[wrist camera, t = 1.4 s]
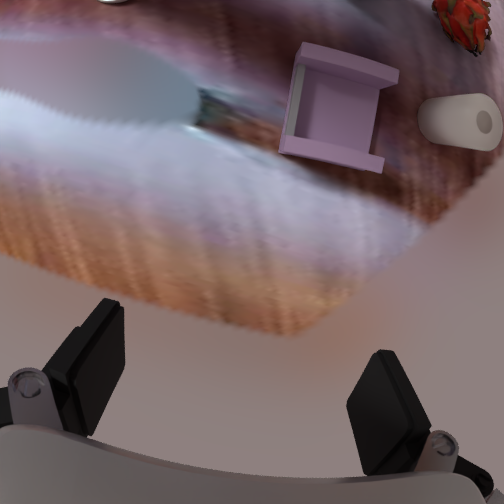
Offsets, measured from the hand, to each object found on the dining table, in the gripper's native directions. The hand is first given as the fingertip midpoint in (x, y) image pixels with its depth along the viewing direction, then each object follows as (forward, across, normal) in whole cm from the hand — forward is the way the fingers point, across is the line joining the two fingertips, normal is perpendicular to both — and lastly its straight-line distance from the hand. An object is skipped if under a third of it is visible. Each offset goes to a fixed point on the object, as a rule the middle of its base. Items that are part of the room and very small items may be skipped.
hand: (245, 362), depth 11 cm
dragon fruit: (+27, -20, -32) cm, 47 cm away
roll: (+27, -20, -16) cm, 37 cm away
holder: (+27, -6, -12) cm, 30 cm away
